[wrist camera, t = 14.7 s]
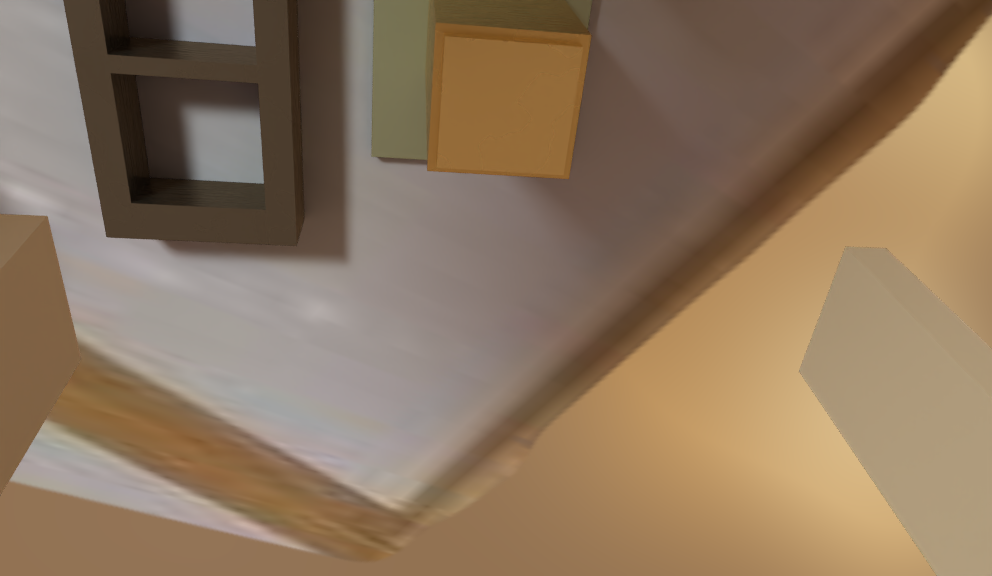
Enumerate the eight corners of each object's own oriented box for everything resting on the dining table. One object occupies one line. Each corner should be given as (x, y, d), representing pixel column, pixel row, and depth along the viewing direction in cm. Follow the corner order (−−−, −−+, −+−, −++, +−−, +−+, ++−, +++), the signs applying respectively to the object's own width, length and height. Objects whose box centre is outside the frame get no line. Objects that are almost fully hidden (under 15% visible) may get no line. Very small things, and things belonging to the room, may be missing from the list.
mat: (377, -165, 32) (376, -164, 32) (610, -139, 34) (613, -138, 33) (372, 152, 40) (371, 156, 39) (564, 163, 41) (566, 168, 40)
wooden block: (430, -41, 34) (436, 25, 24) (541, -31, 35) (593, 38, 25) (425, 71, 37) (427, 175, 27) (528, 79, 38) (570, 183, 27)
